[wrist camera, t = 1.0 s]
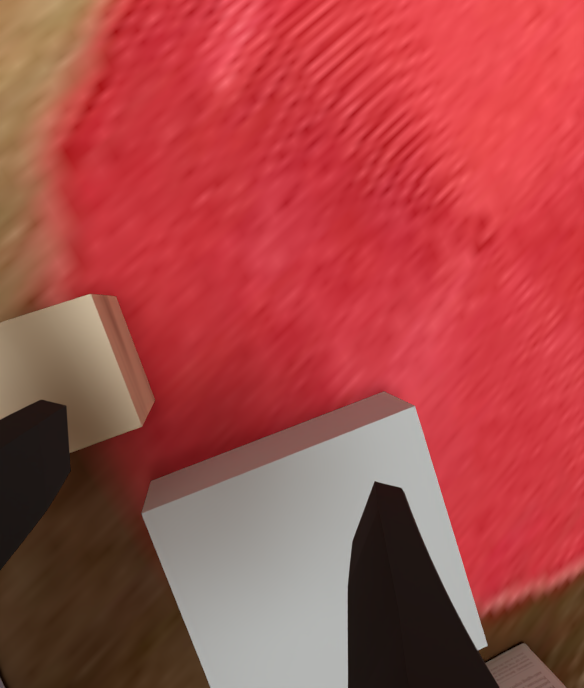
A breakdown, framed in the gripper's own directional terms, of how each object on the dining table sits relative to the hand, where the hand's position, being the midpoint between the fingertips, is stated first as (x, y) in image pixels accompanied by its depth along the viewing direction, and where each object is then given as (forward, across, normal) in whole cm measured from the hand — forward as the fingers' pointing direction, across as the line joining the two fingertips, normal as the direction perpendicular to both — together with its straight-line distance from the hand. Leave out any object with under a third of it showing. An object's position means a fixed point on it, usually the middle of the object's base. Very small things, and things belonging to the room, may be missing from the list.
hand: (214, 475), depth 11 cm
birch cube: (+9, +8, +5) cm, 13 cm away
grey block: (+9, -4, +12) cm, 15 cm away
